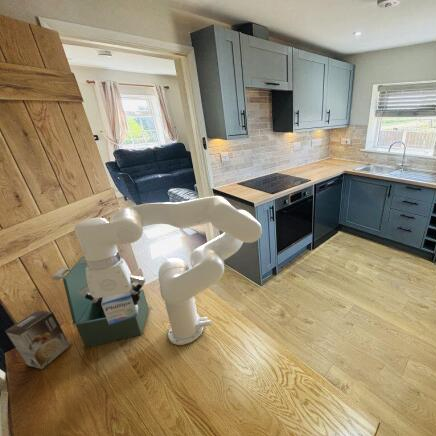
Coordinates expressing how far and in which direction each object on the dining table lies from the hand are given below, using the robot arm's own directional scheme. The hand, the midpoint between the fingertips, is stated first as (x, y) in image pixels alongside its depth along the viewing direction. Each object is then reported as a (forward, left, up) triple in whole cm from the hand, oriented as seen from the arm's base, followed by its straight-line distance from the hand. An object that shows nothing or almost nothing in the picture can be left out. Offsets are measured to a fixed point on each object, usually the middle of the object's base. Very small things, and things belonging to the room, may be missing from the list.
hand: (120, 305), depth 76 cm
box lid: (+16, -14, -1) cm, 21 cm away
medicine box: (0, 0, -5) cm, 5 cm away
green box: (+9, -14, -21) cm, 26 cm away
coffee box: (+28, -7, -21) cm, 35 cm away
